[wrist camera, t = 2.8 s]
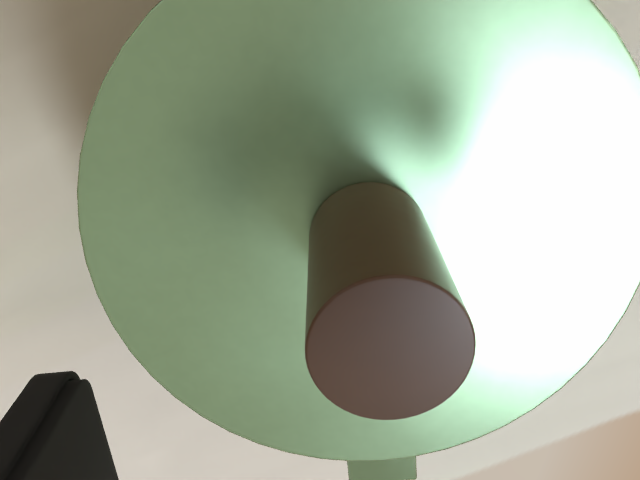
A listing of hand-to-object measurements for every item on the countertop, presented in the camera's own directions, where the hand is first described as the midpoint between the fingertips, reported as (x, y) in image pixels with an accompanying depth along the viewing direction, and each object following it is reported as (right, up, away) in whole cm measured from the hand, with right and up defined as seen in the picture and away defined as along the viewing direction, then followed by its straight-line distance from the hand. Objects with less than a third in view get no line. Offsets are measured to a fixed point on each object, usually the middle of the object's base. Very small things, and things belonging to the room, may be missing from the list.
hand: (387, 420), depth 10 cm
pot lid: (0, +3, +7) cm, 8 cm away
